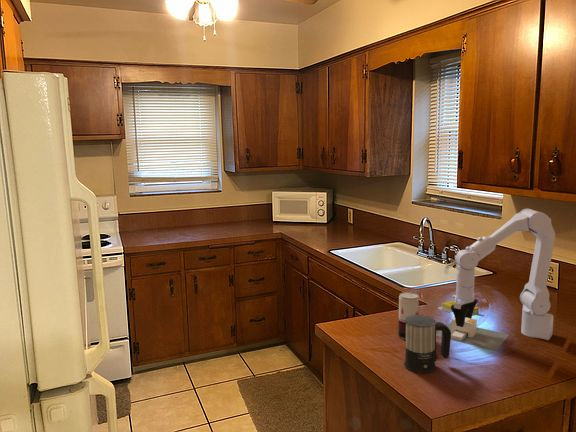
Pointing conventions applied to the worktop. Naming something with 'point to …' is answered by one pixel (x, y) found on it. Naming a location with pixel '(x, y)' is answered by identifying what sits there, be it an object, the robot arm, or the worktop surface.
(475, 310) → the emergency button
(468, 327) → the block
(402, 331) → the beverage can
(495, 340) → the rail panel
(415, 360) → the milk frother
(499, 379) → the worktop surface
